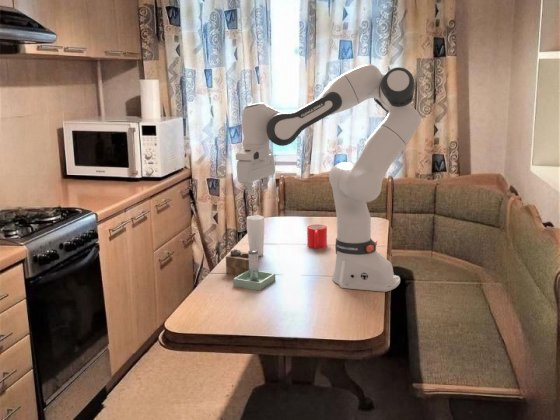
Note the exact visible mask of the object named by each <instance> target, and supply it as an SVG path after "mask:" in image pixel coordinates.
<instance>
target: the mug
mask: <svg viewBox="0 0 560 420" xmlns="http://www.w3.org/2000/svg"><path fill="white" fill-rule="evenodd" d="M306 228H307V230H306V232H307V233H306V235H307V247H308V248H311V249H324V248H327V245H328V233H327V232H328V231H327V230H328V227H327V225H324V224H310V225H308V226H307V227H306Z"/></svg>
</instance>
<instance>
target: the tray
mask: <svg viewBox="0 0 560 420" xmlns="http://www.w3.org/2000/svg"><path fill="white" fill-rule="evenodd" d="M232 280H233V282H232V283H233V286H234V287H238V288H239V287H240V288H244V289H249V290H256V291H262V290H263V289H265V288H266V287H268V286H269V285H271V284H273V283H274V282H275V281H276V273H274V272H268V271H261V270H259V282H254V281H250V278H249V270H248V271H246V272H244V273H242V274H241V275H237V276H235V277H234V278H233V279H232Z"/></svg>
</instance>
